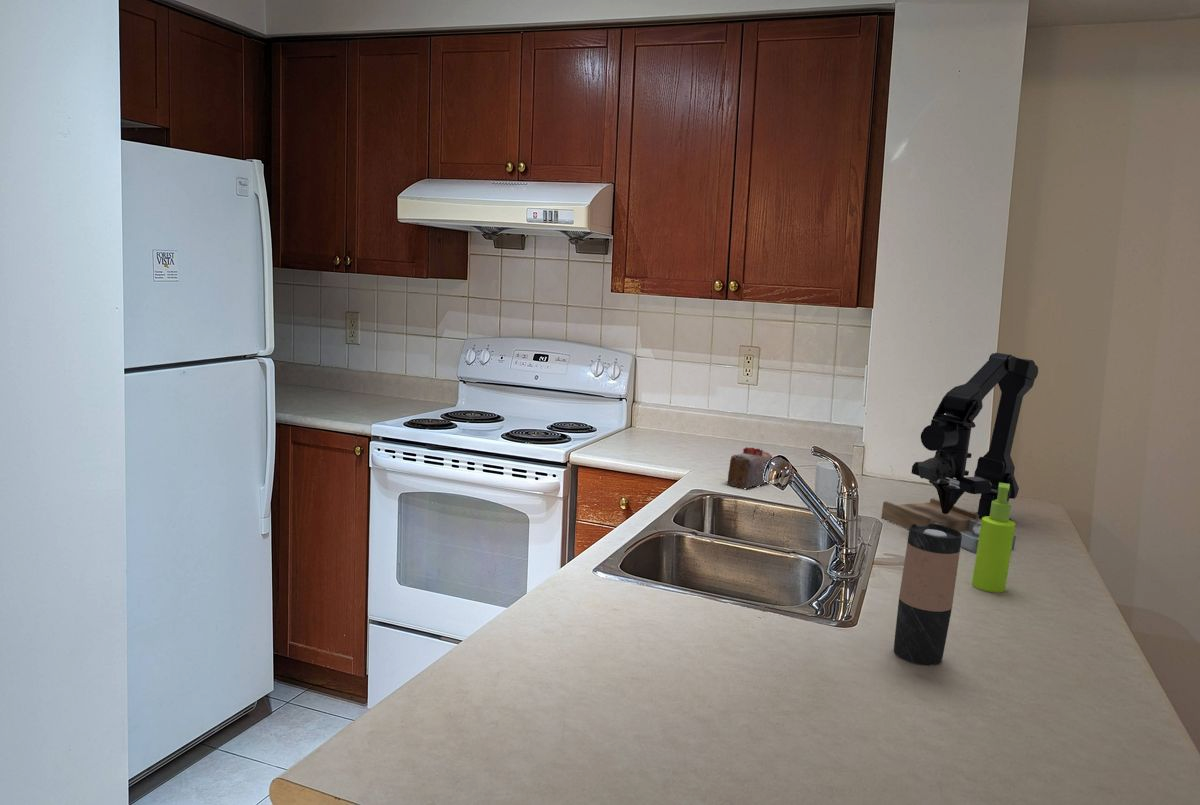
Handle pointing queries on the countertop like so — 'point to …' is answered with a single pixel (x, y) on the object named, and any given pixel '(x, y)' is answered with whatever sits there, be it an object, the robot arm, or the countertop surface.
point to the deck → (927, 515)
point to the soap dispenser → (994, 545)
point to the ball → (976, 530)
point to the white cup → (826, 483)
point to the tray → (972, 539)
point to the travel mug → (926, 593)
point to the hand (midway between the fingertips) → (945, 513)
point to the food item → (748, 468)
